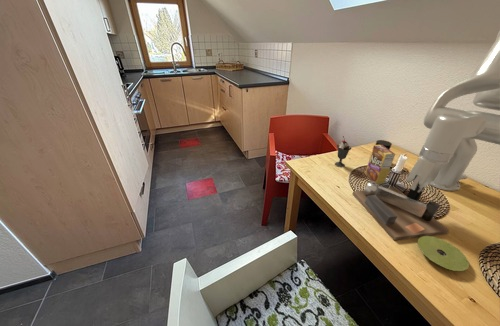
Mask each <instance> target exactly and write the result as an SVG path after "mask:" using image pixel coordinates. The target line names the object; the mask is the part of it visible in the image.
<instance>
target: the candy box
mask: <svg viewBox="0 0 500 326" xmlns="http://www.w3.org/2000/svg"><path fill="white" fill-rule="evenodd" d="M395 157H396V153H394V151H392V150H391V149H390V150H389V149H387V148H386V147H385V146H384V145H375V144H374V145H373V147H372V151H371V153H370V157H369V161H368V163H367V167H366V169H365V172H364V174H365V175H366V176H367V177H368V178H369V179H370V181H372V182H376V183H377V184H378V185H382V184H381V183H385V181H386V179H387V176H388V174H389V172H390V169H391V168H392V165H393V161H394V159H395Z"/></svg>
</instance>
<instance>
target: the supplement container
mask: <svg viewBox="0 0 500 326" xmlns="http://www.w3.org/2000/svg"><path fill="white" fill-rule="evenodd" d="M374 145H384V146H385V147H386V148H387V149H389V150H390V151H391V147H392V142H390V141H387V140H382V139H378V140H376V142H375V144H374Z"/></svg>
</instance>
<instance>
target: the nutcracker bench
mask: <svg viewBox="0 0 500 326" xmlns="http://www.w3.org/2000/svg"><path fill="white" fill-rule="evenodd" d="M385 188H386V189H389V190H391V191H394V192H396V193H399V194H401V195H404V196H406V197H407V194H404V193H403V192H402V191H401V190H399V189H398V188H397V187H396V186H395V187H385ZM364 191H365V189H364V190H363V189H362V190H354V191H352V196H353V197H354V198H355V199H356V200H357V201H358V202H359V204H360V205H361V206H362V207H363V209H364V210H366V212H368V213H369V214H370V216H371V217H372V218H373V220H375V221H376V222H377V223H378V225H379V226H380V227H381V228H382V229H383V230H384V231H385V232H386V234H387V235H388V236H389V237H390V238H391V239H392V240H393V241H401V240H408V239H409V240H411V239H416V238H417V239H419V238H420V237H423V236H432V237H435V236H439V235H447V234H448V233H449V232H450V229H448V228H447V227H446V226H445V225H444V224H442V223H441V222H440V221H439V220H437V219H436V218H434V217H433V218H432V220H431V221H425V220H423V219H422V218H421V217H419V216H417V215H414V214H412V213H410V212H408V211H405V210H403V209H401V208H398V207H396V206H394V205H392V204H389V203H387V202H385V201H383V200H380V199H379V198H378V197H377V196H376V195H368V196H367V195H366V194H365V193H364Z"/></svg>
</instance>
